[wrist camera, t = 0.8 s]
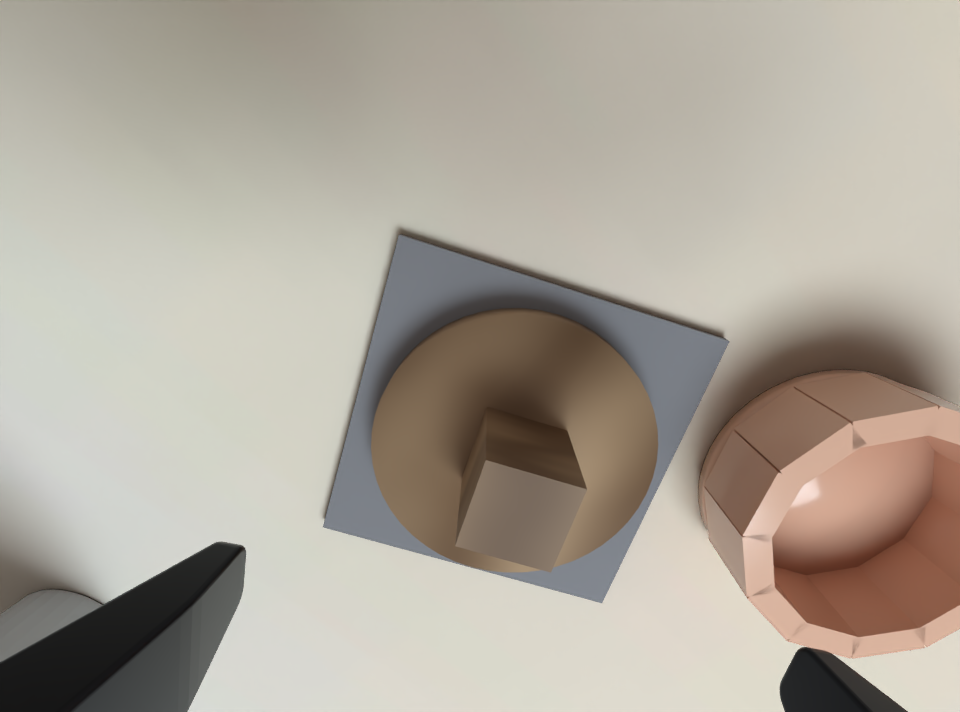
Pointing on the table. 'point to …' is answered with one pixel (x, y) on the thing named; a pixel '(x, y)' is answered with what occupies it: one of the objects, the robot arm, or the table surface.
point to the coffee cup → (40, 618)
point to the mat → (485, 286)
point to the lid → (514, 441)
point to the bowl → (841, 511)
